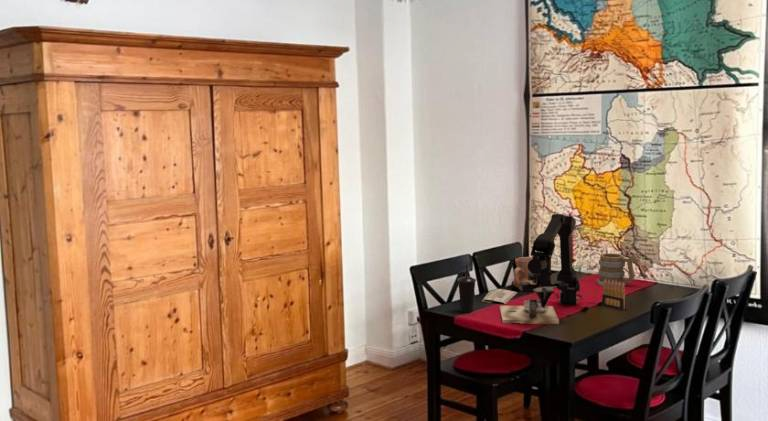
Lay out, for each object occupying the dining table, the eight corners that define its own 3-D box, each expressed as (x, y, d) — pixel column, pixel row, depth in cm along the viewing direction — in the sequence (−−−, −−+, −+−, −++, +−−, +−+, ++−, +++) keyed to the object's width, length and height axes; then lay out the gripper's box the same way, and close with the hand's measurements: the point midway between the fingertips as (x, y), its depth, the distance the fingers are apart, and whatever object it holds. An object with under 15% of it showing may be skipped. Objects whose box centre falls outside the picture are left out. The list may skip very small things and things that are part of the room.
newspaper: (490, 292, 370) (491, 287, 369) (516, 297, 365) (517, 291, 365) (477, 303, 349) (477, 297, 348) (504, 308, 344) (504, 303, 344)
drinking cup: (464, 314, 329) (464, 267, 327) (454, 310, 336) (454, 264, 333) (479, 312, 333) (479, 265, 330) (469, 308, 340) (469, 262, 337)
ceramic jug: (529, 283, 383) (529, 254, 381) (552, 288, 372) (552, 259, 370) (502, 289, 373) (502, 259, 371) (525, 294, 361) (525, 264, 359)
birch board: (552, 309, 335) (552, 305, 335) (558, 324, 313) (559, 319, 313) (499, 309, 337) (499, 305, 337) (502, 323, 315) (502, 319, 315)
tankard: (592, 284, 380) (593, 253, 378) (606, 279, 389) (607, 249, 387) (630, 291, 366) (631, 258, 363) (644, 286, 374) (645, 255, 372)
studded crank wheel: (525, 306, 333) (525, 290, 332) (546, 308, 331) (547, 291, 330) (521, 317, 317) (521, 299, 316) (544, 318, 315) (544, 301, 314)
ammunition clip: (625, 309, 333) (626, 281, 331) (623, 310, 332) (624, 282, 330) (604, 305, 341) (604, 277, 340) (601, 305, 340) (602, 278, 338)
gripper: (559, 264, 324) (559, 301, 326) (515, 265, 322) (514, 303, 324) (569, 269, 313) (568, 308, 315) (522, 271, 311) (522, 310, 313)
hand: (543, 307), depth 317 cm, fingers closed
